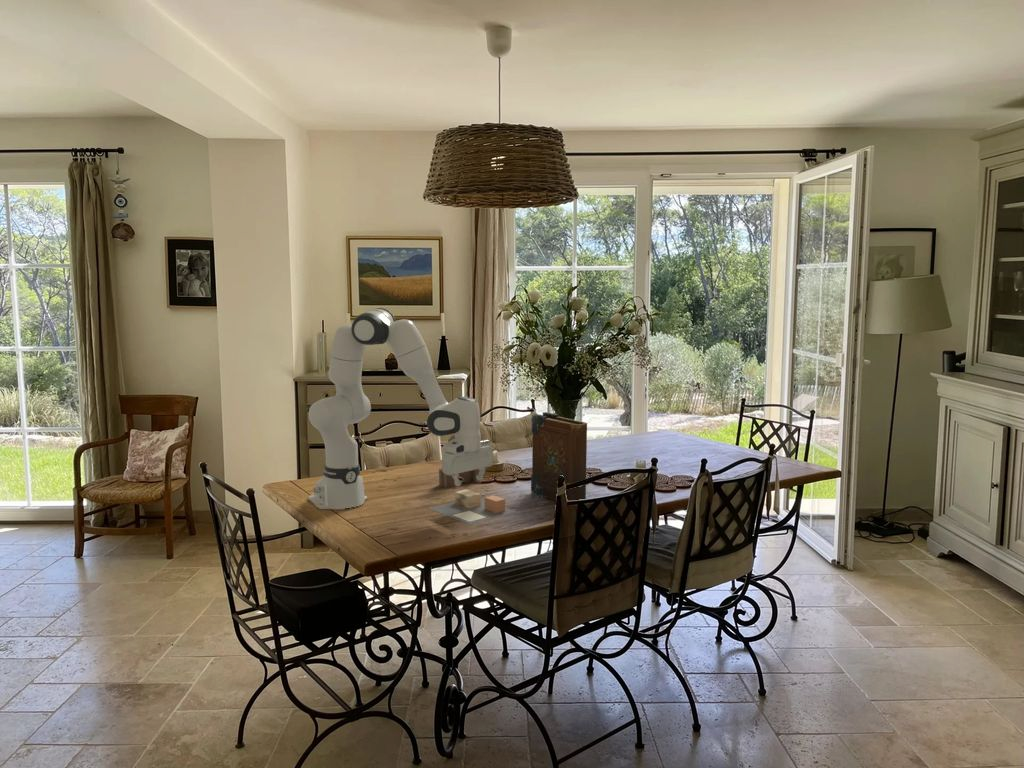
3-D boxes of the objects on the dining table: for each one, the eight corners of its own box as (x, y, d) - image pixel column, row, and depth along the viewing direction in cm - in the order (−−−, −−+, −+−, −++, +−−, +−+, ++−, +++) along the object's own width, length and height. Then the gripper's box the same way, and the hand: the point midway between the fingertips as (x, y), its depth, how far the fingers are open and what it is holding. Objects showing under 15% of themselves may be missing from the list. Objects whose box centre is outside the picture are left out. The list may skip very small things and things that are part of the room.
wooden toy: (446, 489, 284) (445, 424, 280) (439, 485, 290) (438, 421, 286) (482, 483, 292) (482, 420, 288) (474, 479, 297) (474, 417, 294)
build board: (428, 512, 256) (427, 507, 255) (473, 500, 269) (473, 496, 269) (469, 529, 239) (469, 524, 238) (516, 516, 252) (516, 511, 252)
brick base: (455, 503, 261) (455, 491, 261) (466, 500, 265) (466, 489, 264) (469, 508, 255) (469, 496, 255) (480, 505, 259) (480, 494, 258)
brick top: (484, 508, 255) (484, 497, 254) (493, 506, 257) (493, 495, 257) (496, 512, 250) (496, 501, 250) (505, 510, 253) (505, 499, 252)
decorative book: (530, 493, 278) (531, 414, 274) (545, 490, 283) (545, 411, 279) (574, 508, 260) (575, 423, 256) (589, 504, 265) (590, 421, 261)
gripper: (485, 438, 266) (486, 475, 268) (438, 446, 253) (439, 486, 254) (497, 440, 261) (497, 479, 263) (449, 449, 248) (451, 490, 250)
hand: (469, 483), depth 259 cm, fingers open, 8 cm apart
